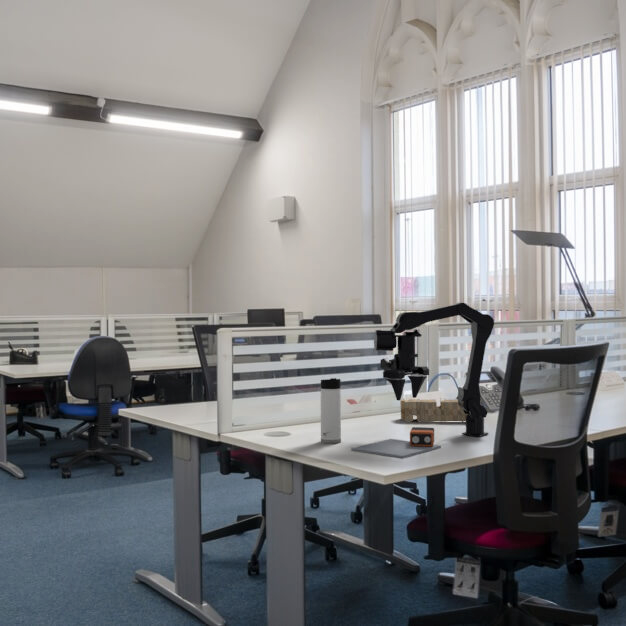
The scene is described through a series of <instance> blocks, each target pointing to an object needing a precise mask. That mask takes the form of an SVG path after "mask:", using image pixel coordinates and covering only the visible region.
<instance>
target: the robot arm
mask: <svg viewBox="0 0 626 626" xmlns="http://www.w3.org/2000/svg"><path fill="white" fill-rule="evenodd" d="M456 316H459V317H461V318H462V319H463V320H465V321H466V322H467V323H469V324H470V330H471V331H470V332H471V339H472V342H471V349H470V354H469V359H468V366H467V371H466V378H465V382H464V385H463V386H462V387H460V386H458V388H457V396H456V397H455V400H458V405H459V406H460V408H462V409H463V411H464V413H465V414H467V415H466V423H465V431H464V432H461V435H462V434H464V435H465V436H470V435H472V436H473V437H483V436H486V434H487V435H489V432H487V431H485V418H487V416H488V413H489V411H488V410H487V409H486V408H485V407H484V406H483V405H482V401H481V390H480V389H481V388H480V381H481V377H482V376H481V375H482V370H483V369H482V368H483V364H484V357H485V352H486V345H487V342H488V340H489V338H490V337H491V335H492V333H493V330H494V326H495V321H494V320H495V319H493V316H491V315H490V314H488V313H487V314H486V313H482V312H481V311H478V310H477V309H476V308H475V309H474V308H473V307H471V306H470V305H468V304H467V303H465V302H457V303H455V304H449V305H447V306H441V307H437V308H432V309H429V310H424V311H404V312H399V314H397V316H396V319H395V321H396V322H395V323H394V325H393V326H392V327H391V329H390V330H381V329H378V330H377V329H375V334H374V340H373V347H374V351H375V352H393V351H394V349H396V348H397V353H395V354H394V355H393V358H392V359H388V358H387V357H386V358H382V359H380V367H379V368H380V369H381V370H383V371H382V378H383V379H385V380H386V381H387V382H389V384H391V387H392V389H393V392H394V396H395V398H396V401H400V400H401V399H402V395H403V391H404V388H405V384H406V383H405V382H406V379H405V376H407V377H408V379H409V380H410V383H411V385H410V386H411V395H412V398H413V399H414V398H416V399H417V397H418V394H419V392H420V390H421V388H422V386H423V384H424V382H425V380H426V379H427V378H428V376H430V369H429V367H428V366H424V365H423V366H420V365H416V358H418V357H419V353H416V338H418V337H419V338H421V337H422V334H421V333H420V332H419V331H418V329H416V328H418V327H420V326H422V325H425V324H426V323H430V322H435V321H440V320H443V319H448V318H451V317H456ZM410 330H413V331H410ZM402 333H403V334H402ZM472 436H471V437H472Z"/></svg>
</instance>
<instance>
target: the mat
mask: <svg viewBox="0 0 626 626" xmlns="http://www.w3.org/2000/svg"><path fill="white" fill-rule="evenodd" d="M440 448H441V449H442V446H441V445H439V444H433V446H432V447H420V446H410V440H402V439H395V438H389V439H385V440H381V441H376V442H372V443H368V444H363V445H359V446H355V447H351V451H354V452H361V453H367V454H372V455H373V454H375V455H380V456H387V457H393V458H400V459H405V458H408V457H412V456H416V455H419V454H422V453H427V452H431V451H434V450H437V449H440Z"/></svg>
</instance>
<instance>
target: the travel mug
mask: <svg viewBox="0 0 626 626" xmlns="http://www.w3.org/2000/svg"><path fill="white" fill-rule="evenodd" d="M341 381H342V380H341V378H336V377H334V378H333V377H331V378H330V379H320V442H321V444H322V443H323V444H330V445H331V444H333V445H334V444H340V443H341V442H342V391H341V390H342V389H341Z"/></svg>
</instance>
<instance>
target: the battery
mask: <svg viewBox="0 0 626 626" xmlns="http://www.w3.org/2000/svg"><path fill="white" fill-rule="evenodd" d="M409 441H410V446H420V447H432V446H433V445H435V428H434V427H422V426H421V427H419V426H418V427H417V426H413V427H412V428H411V430H410V431H409Z"/></svg>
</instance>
